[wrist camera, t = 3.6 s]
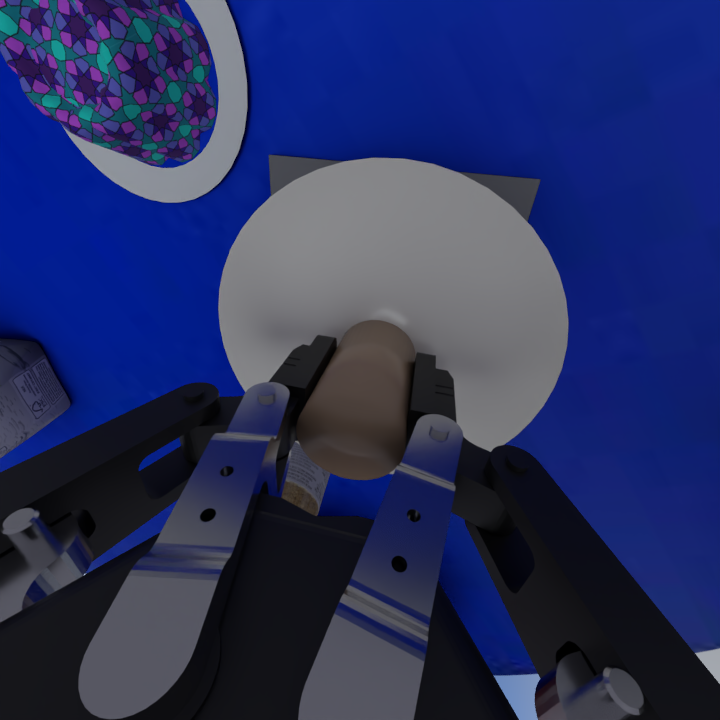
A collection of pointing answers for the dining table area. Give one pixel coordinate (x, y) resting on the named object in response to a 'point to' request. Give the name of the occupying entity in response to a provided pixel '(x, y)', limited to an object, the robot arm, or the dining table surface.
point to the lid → (395, 305)
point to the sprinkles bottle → (304, 481)
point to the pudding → (134, 85)
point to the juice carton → (26, 392)
